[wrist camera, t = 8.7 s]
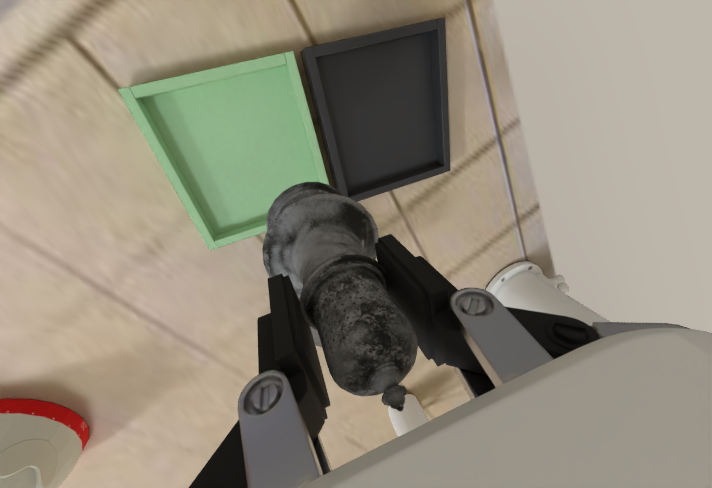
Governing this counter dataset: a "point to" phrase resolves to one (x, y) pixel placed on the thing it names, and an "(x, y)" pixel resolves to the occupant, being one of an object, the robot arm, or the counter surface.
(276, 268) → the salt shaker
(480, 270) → the counter surface
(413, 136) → the dark tray
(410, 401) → the mug
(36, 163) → the counter surface
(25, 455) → the kitchen timer
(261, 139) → the pale tray
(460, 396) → the counter surface
